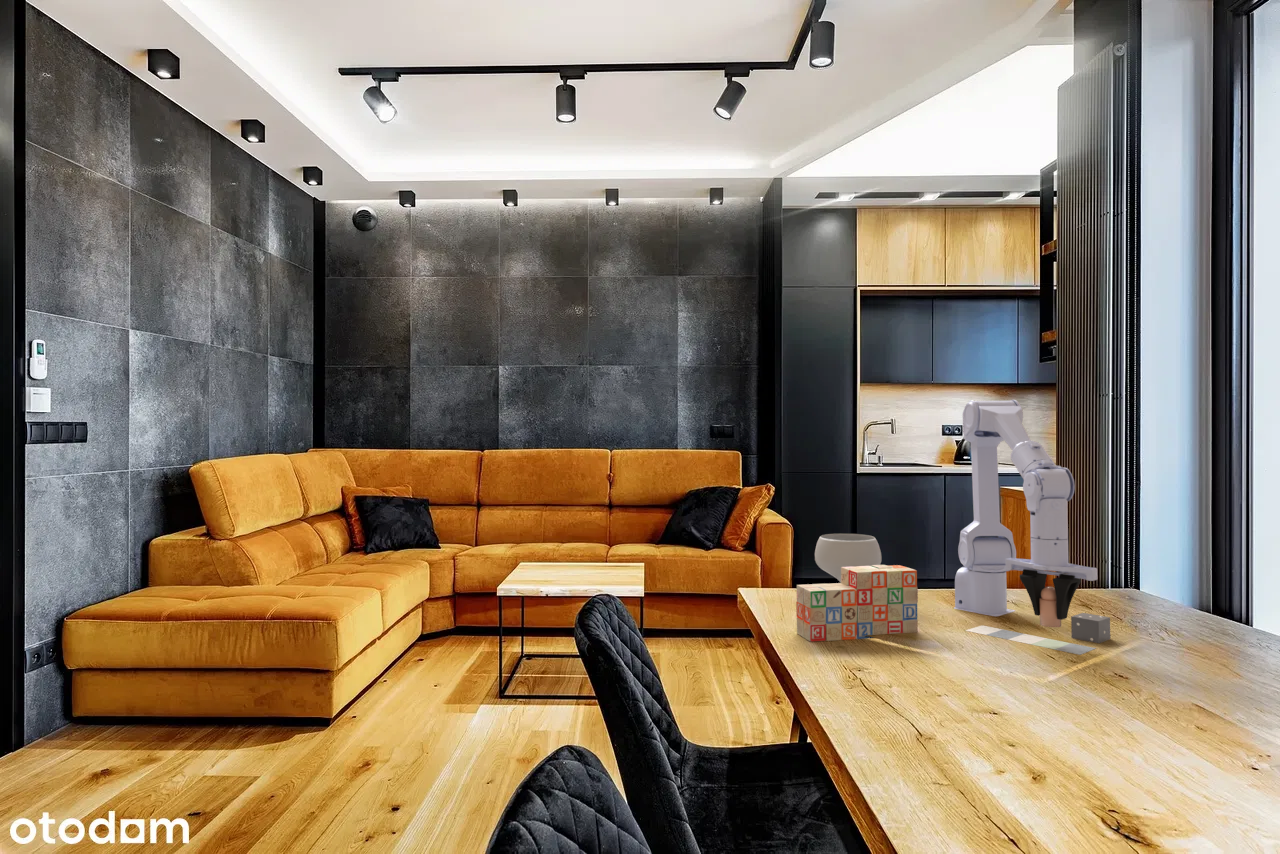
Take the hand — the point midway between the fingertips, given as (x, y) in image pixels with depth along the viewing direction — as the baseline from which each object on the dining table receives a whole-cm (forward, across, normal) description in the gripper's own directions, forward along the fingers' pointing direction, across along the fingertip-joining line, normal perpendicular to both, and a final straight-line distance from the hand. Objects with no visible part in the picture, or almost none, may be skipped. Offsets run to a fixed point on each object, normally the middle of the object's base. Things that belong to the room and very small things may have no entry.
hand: (1050, 616), depth 130 cm
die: (+5, +3, +9) cm, 11 cm away
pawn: (+1, 0, 0) cm, 1 cm away
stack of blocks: (+6, -26, -19) cm, 33 cm away
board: (+5, -4, 0) cm, 7 cm away
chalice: (+5, -42, -1) cm, 42 cm away
